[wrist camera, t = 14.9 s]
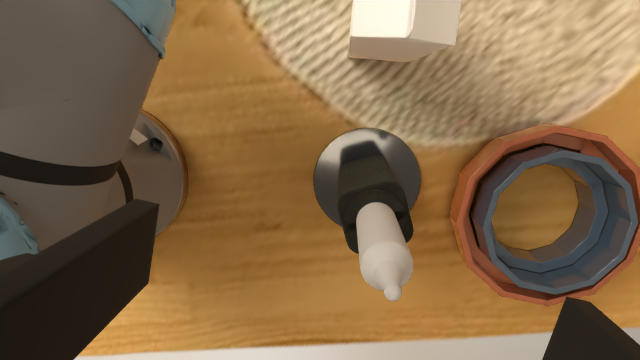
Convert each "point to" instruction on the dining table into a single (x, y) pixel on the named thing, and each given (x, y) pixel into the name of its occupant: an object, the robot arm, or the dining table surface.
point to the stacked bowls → (578, 241)
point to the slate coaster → (358, 147)
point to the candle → (376, 223)
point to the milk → (402, 28)
